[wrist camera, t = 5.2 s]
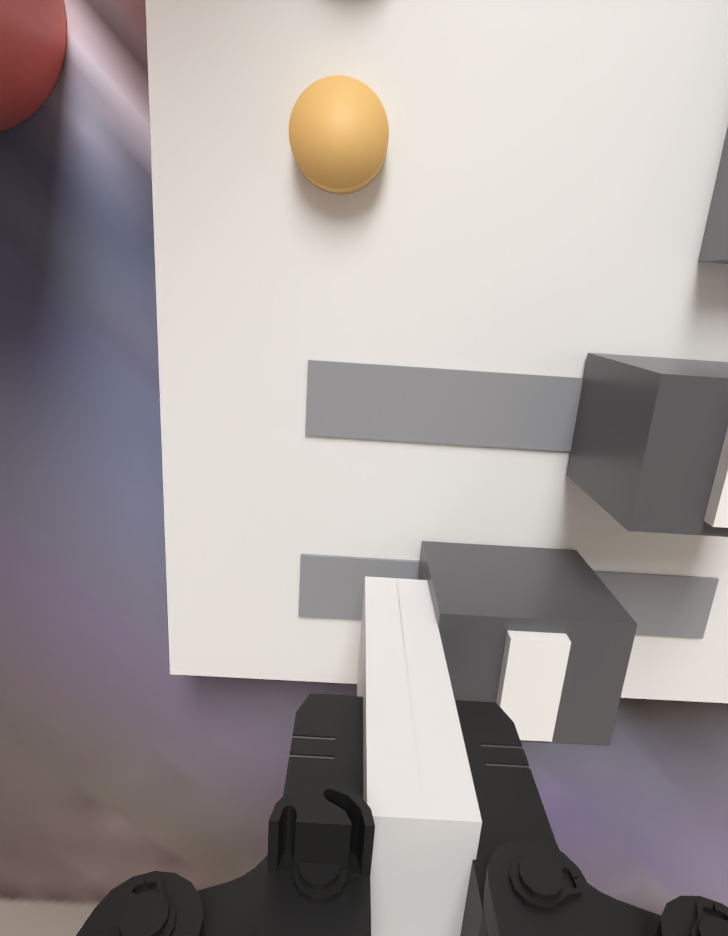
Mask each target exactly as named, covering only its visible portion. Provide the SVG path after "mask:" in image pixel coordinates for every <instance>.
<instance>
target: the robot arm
mask: <svg viewBox="0 0 728 936" xmlns="http://www.w3.org/2000/svg"><path fill="white" fill-rule="evenodd" d="M76 936H728V907H726V906H725V905H723V904H721V903H718V902H716V901H713V900H710V899H707V898H704V897H701V896H679V897H677V898H676V899H674V900H672V901H670V902H668V903H667V904H666V906H665V909H664V911H663V913H662V916H660V915H658V914H655V913H652V912H649V911H646V910H644V909H641V908H638V907H635V906H633V905H630V904H627V903H624V902H622V901H619V900H616V899H614V898H612V897H610V896H608V895H606V894H603V893H601V892H600V891H598V890H597V889H595V888H594V887H592V886H591V885H589V884H588V883H587V881H586V880H585V878H584V876H583V874H582V873H581V871H580V869H579V868H578V867H577V866H576V865H575V864H574V863H573V862H572V861H571V860H570V859H569V858H568V857H567V856H566V855H565V854H564V853H563V852H561V851H560V850H559V848H558V846H557V844H556V841H555V838H554V835H553V832H552V830H551V827H550V824H549V821H548V818H547V815H546V813H545V810H544V807H543V804H542V801H541V798H540V795H539V793H538V790H537V787H536V784H535V781H534V778H533V775H532V773H531V770H530V769H529V764H528V761H527V758H526V755H525V753H524V750H522V744H521V741H520V738H519V735H518V733H517V730H516V727H515V724H514V722H513V721H512V720H511V719H510V717H509V716H508V715H507V714H506V713H505V712H504V711H503V710H502V708H501V707H500V706H499V705H498V704H497V703H496V702H479V701H462V700H455V699H454V695H453V690H452V686H451V681H450V677H449V673H448V668H447V664H446V659H445V655H444V650H443V646H442V642H441V637H440V633H439V628H438V624H437V620H436V616H435V611H434V607H433V603H432V598H431V594H430V590H429V585H428V581H427V580H416V579H400V578H384V577H368V576H365V583H364V595H363V608H362V621H361V634H360V646H359V659H358V672H357V696H343V695H326V694H310V695H309V696H308V697H307V699H306V700H305V701H304V703H303V704H302V705H301V707H300V708H299V709H298V711H297V712H296V718H295V724H294V730H293V739H292V743H291V750H290V758H289V762H288V769H287V775H286V782H285V788H284V794H283V797H282V798H281V799H280V800H279V801H278V802H277V803H276V804H275V807H274V809H273V812H272V814H271V817H270V819H269V833H268V854H267V856H266V857H265V858H264V859H263V860H262V861H261V862H260V863H259V864H258V865H257V867H256V868H254V869H253V870H251V871H250V872H248V873H247V874H245V875H244V876H242V877H240V878H237V879H235V880H232V881H230V882H227V883H224V884H220V885H217V886H213V887H209V888H206V889H202V890H199V891H196V889H195V887H194V886H193V884H192V883H191V882H190V881H188V880H186V879H185V878H183V877H181V876H179V875H178V874H176V873H170V872H159V871H153V872H150V873H146V874H142V875H138V876H134V877H132V878H130V879H129V880H127V881H125V882H124V883H122V884H120V885H119V886H117V887H116V888H114V889H112V890H111V891H110V892H109V893H108V895H107V896H106V897H105V898H104V899H103V900H102V901H101V902H100V903H99V904H98V905H97V907H96V908H95V909H94V910H93V912H92V913H91V915H90V916H89V918H88V919H87V921H86V922H85V923H84V925H83V926H82V928H81V929H80V931H79V932H78V934H77V935H76Z"/></svg>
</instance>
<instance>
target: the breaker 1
mask: <svg viewBox="0 0 728 936" xmlns="http://www.w3.org/2000/svg"><path fill="white" fill-rule="evenodd" d="M418 580H427V581H428V585H429V590H430V594H431V598H432V603H433V607H434V611H435V616H436V620H437V624H438V628H439V633H440V637H441V642H442V646H443V650H444V655H445V659H446V664H447V668H448V673H449V677H450V681H451V686H452V690H453V695H454V699H455V700H462V701H479V702H496V703H497V704H498V705H499V706H500V707H501V708H502V710H503V711H504V712H505V713H506V714H507V715H508V716H509V717H510V719H511V720H512V721H513V722H514V724H515V727H516V730H517V733H518V735H519V738H520V741H522V742H542V743H562V744H582V745H602V746H609V745H610V741H611V737H612V732H613V728H614V724H615V719H616V715H617V711H618V706H619V702H620V698H621V693H622V689H623V685H624V681H625V676H626V672H627V668H628V663H629V659H630V655H631V650H632V646H633V642H634V637H635V633H636V629H637V623H636V622H635V621H634V620H633V618H632V617H631V616H630V615H629V613H628V612H627V611H626V610H625V609H624V607H623V606H622V605H621V604H620V603H619V601H618V600H617V599H616V598H615V596H614V595H613V594H612V593H611V592H610V590H609V589H608V588H607V587H606V586H605V584H604V583H603V582H602V581H601V579H600V578H599V577H598V576H597V575H596V573H595V572H594V571H593V570H592V569H591V567H590V566H589V565H588V564H587V562H586V561H585V560H584V559H583V558H582V556H581V555H580V554H579V553H578V552H577V550H568V549H551V548H534V547H517V546H499V545H482V544H465V543H448V542H431V541H422V547H421V556H420V566H419V576H418Z"/></svg>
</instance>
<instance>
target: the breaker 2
mask: <svg viewBox="0 0 728 936" xmlns="http://www.w3.org/2000/svg"><path fill="white" fill-rule="evenodd" d="M566 475H567V476H568V477H569V478H570V479H571V480H572V481H573V482H575V483H576V484H577V485H578V486H579V487H580V488H581V489H582V490H583V491H584V492H586V493H587V494H588V495H589V496H590V497H591V498H592V499H593V500H594V501H595V502H597V503H598V504H599V505H600V506H601V507H602V508H603V509H604V510H605V511H606V512H608V513H609V514H610V515H611V516H612V517H613V518H614V519H615V520H616V521H618V522H619V523H620V524H621V525H622V526H623V527H624V528H625V529H626V530H627V531H636V532H653V533H670V534H686V535H703V536H720V537H728V362H719V361H704V360H689V359H675V358H660V357H645V356H630V355H615V354H600V353H588V355H587V360H586V366H585V372H584V377H583V383H582V389H581V395H580V400H579V406H578V412H577V417H576V423H575V429H574V434H573V440H572V446H571V451H570V457H569V463H568V468H567V474H566Z"/></svg>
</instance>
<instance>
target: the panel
mask: <svg viewBox="0 0 728 936" xmlns="http://www.w3.org/2000/svg"><path fill="white" fill-rule="evenodd" d="M146 28H147V55H148V82H149V110H150V137H151V164H152V192H153V219H154V247H155V274H156V301H157V329H158V356H159V383H160V411H161V438H162V465H163V493H164V520H165V548H166V575H167V602H168V630H169V657H170V674H175V675H195V676H214V677H233V678H252V679H272V680H291V681H310V682H329V683H349V684H357V672H358V659H359V646H360V634H361V621H362V608H363V595H364V583H365V576H368V577H384V578H400V579H416V580H418V576H419V566H420V556H421V547H422V541H431V542H448V543H465V544H482V545H499V546H517V547H534V548H551V549H568V550H577V552H578V553H579V554H580V555H581V556H582V558H583V559H584V560H585V561H586V562H587V564H588V565H589V566H590V567H591V569H592V570H593V571H594V572H595V573H596V575H597V576H598V577H599V578H600V579H601V581H602V582H603V583H604V584H605V586H606V587H607V588H608V589H609V590H610V592H611V593H612V594H613V595H614V596H615V598H616V599H617V600H618V601H619V603H620V604H621V605H622V606H623V607H624V609H625V610H626V611H627V612H628V613H629V615H630V616H631V617H632V618H633V620H634V621H635V622H636V623H637V629H636V633H635V637H634V642H633V646H632V650H631V655H630V659H629V663H628V668H627V672H626V676H625V681H624V685H623V689H622V693H621V698H637V699H656V700H676V701H695V702H714V703H728V537H720V536H703V535H686V534H670V533H653V532H636V531H627V530H626V529H625V528H624V527H623V526H622V525H621V524H620V523H619V522H618V521H616V520H615V519H614V518H613V517H612V516H611V515H610V514H609V513H608V512H606V511H605V510H604V509H603V508H602V507H601V506H600V505H599V504H598V503H597V502H595V501H594V500H593V499H592V498H591V497H590V496H589V495H588V494H587V493H586V492H584V491H583V490H582V489H581V488H580V487H579V486H578V485H577V484H576V483H575V482H573V481H572V480H571V479H570V478H569V477H568V476H567V475H566V474H567V468H568V463H569V457H570V451H571V446H572V440H573V434H574V429H575V423H576V417H577V412H578V406H579V400H580V395H581V389H582V383H583V377H584V372H585V366H586V360H587V355H588V353H600V354H615V355H630V356H645V357H660V358H675V359H689V360H704V361H719V362H728V0H146Z"/></svg>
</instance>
